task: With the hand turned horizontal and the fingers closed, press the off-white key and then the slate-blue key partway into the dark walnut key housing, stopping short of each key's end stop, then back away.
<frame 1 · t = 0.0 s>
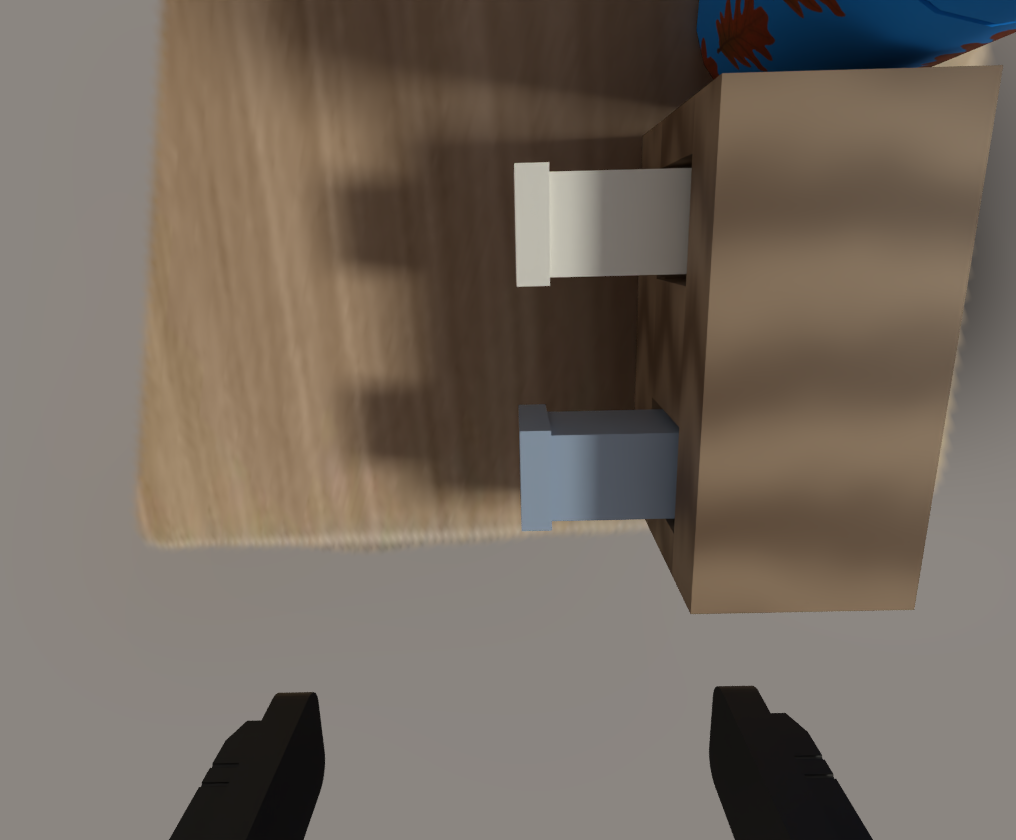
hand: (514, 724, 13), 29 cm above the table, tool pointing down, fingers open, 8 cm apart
key blue: (629, 462, 34), point 8 cm above the table, slide at 0.0 cm
key white: (635, 224, 31), point 8 cm above the table, slide at 0.0 cm
thermos: (790, 15, 36), on the table
housing: (717, 325, 40), on the table
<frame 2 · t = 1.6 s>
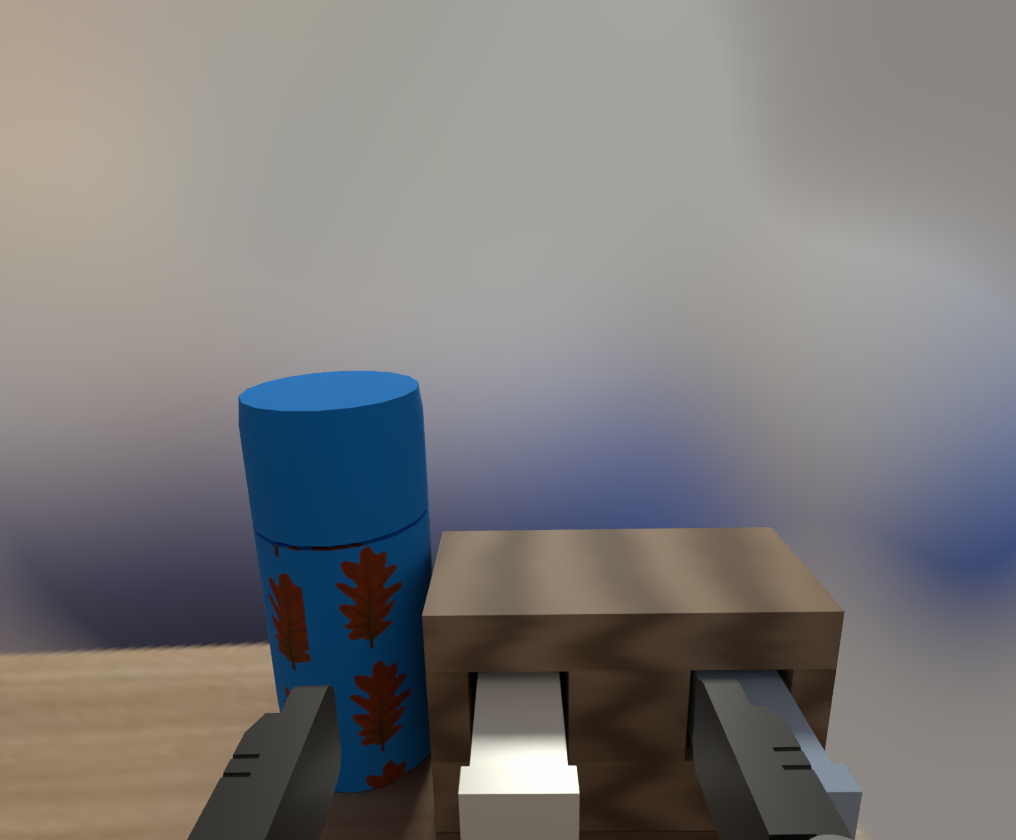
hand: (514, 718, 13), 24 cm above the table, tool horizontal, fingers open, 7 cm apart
key blue: (748, 740, 34), point 8 cm above the table, slide at 0.0 cm
key white: (519, 742, 34), point 8 cm above the table, slide at 0.0 cm
thermos: (365, 734, 46), on the table
housing: (611, 763, 42), on the table
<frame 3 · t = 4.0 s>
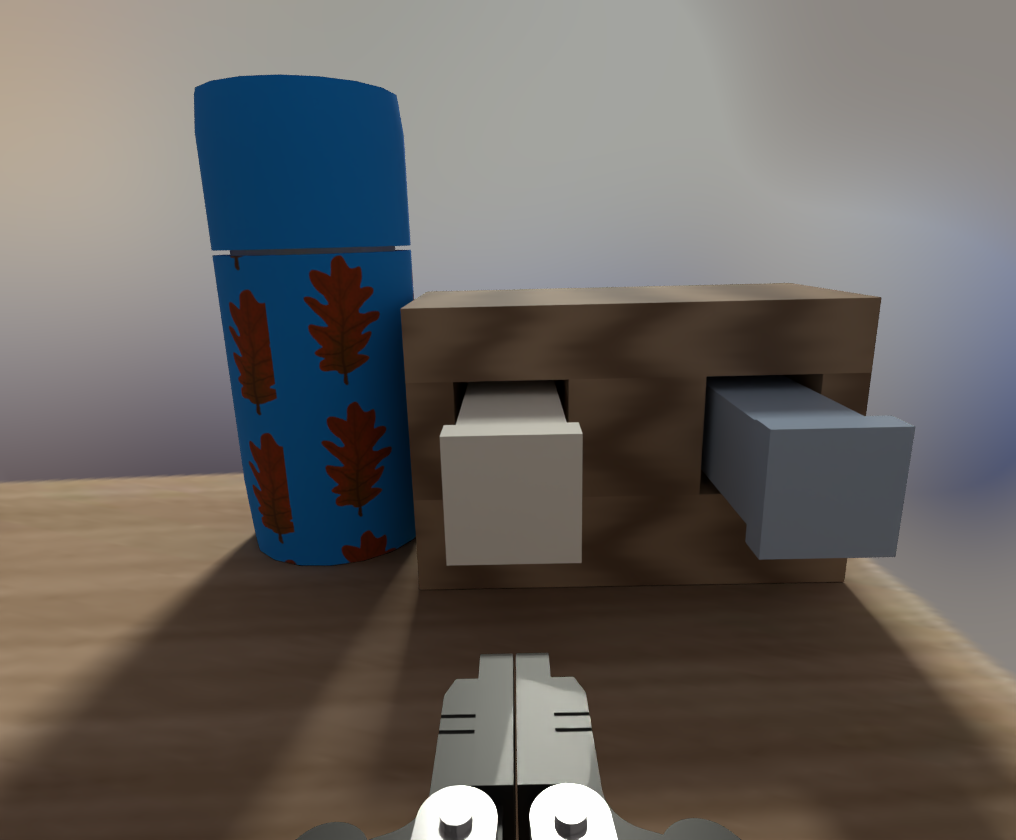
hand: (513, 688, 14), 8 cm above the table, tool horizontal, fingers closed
key blue: (773, 447, 29), point 8 cm above the table, slide at 0.0 cm
key white: (512, 452, 30), point 8 cm above the table, slide at 0.0 cm
thermos: (343, 529, 41), on the table
housing: (615, 542, 38), on the table
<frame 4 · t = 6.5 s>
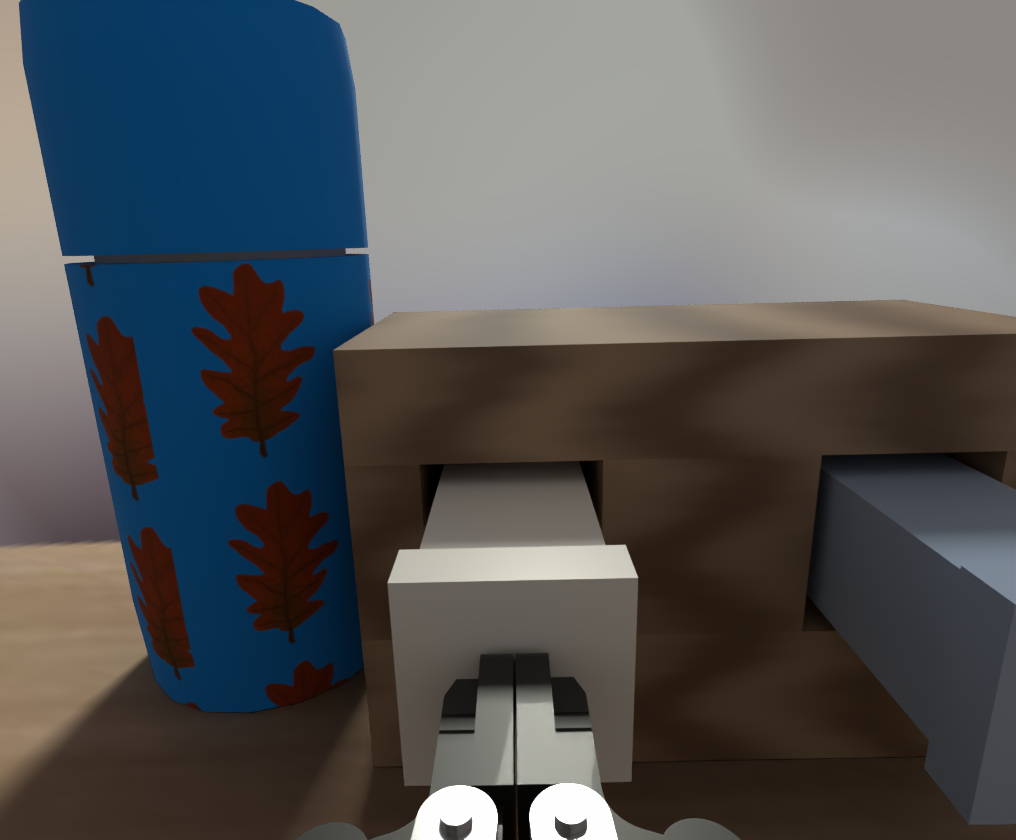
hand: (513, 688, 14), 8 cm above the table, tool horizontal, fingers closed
key blue: (936, 573, 18), point 8 cm above the table, slide at 0.0 cm
key white: (513, 560, 20), point 8 cm above the table, slide at 1.3 cm, touching gripper
thermos: (280, 637, 30), on the table
housing: (660, 667, 27), on the table
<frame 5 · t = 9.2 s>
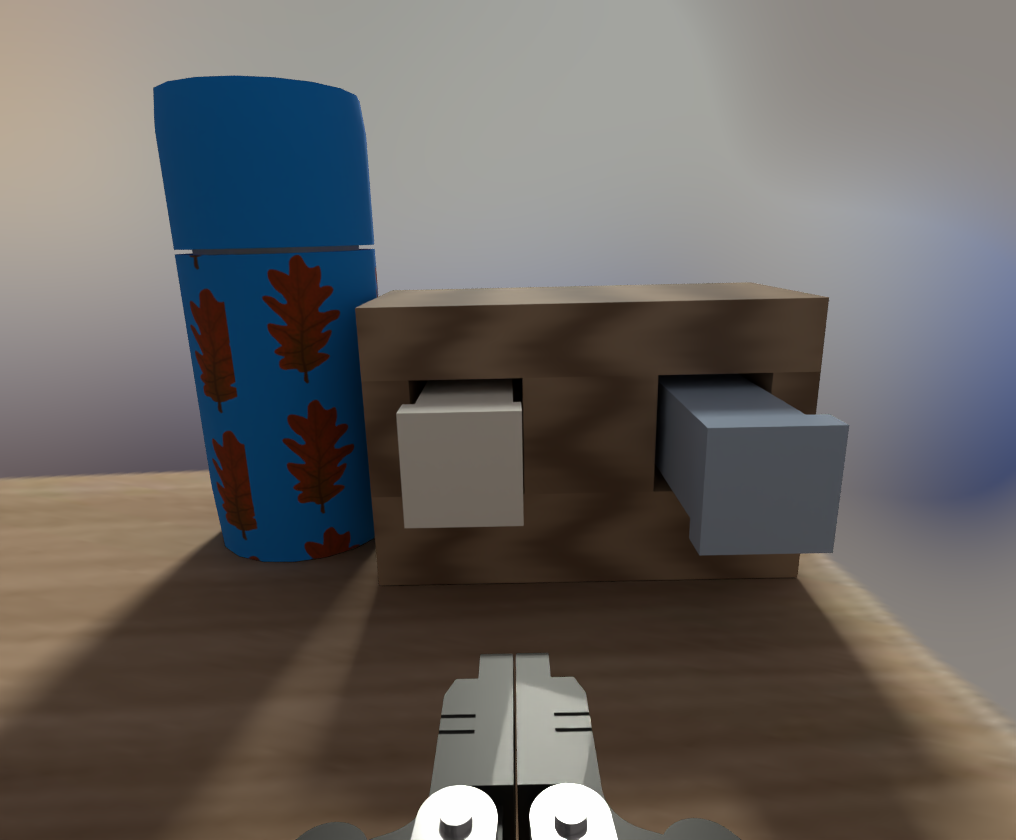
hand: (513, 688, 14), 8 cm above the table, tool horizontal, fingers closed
key blue: (723, 444, 30), point 8 cm above the table, slide at 0.0 cm
key white: (469, 431, 33), point 8 cm above the table, slide at 3.0 cm
thermos: (310, 525, 42), on the table
housing: (577, 538, 39), on the table
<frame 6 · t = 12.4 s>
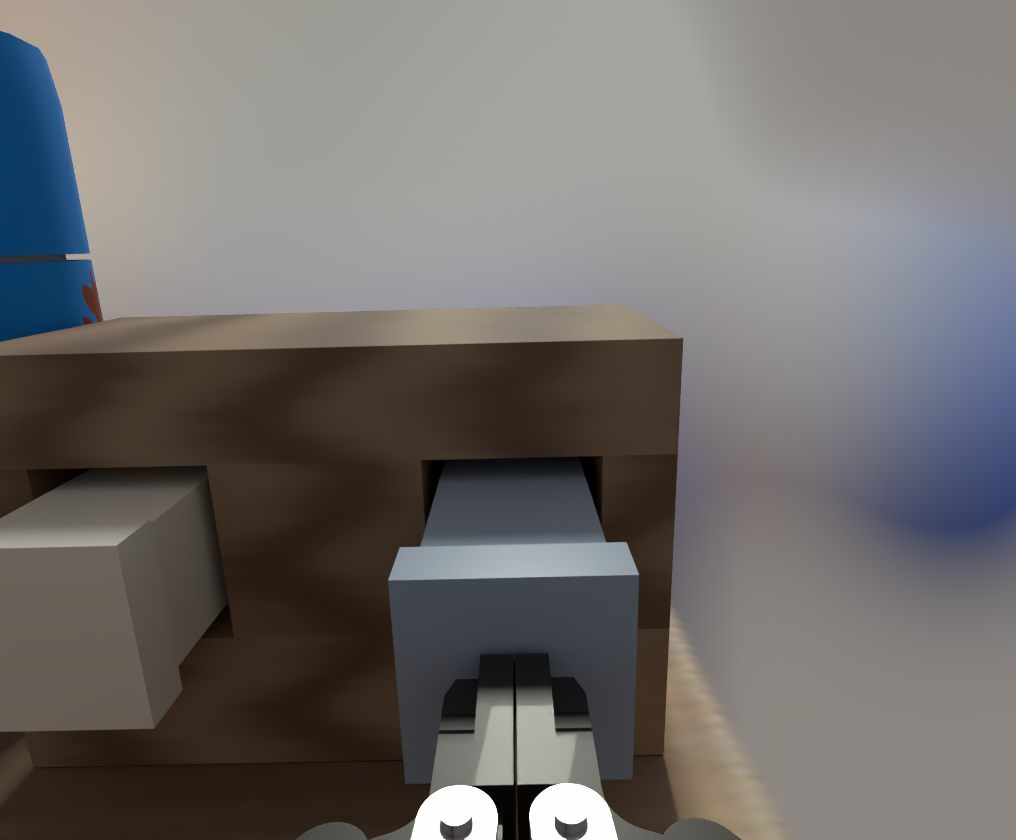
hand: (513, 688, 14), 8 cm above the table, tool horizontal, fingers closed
key blue: (514, 558, 20), point 8 cm above the table, slide at 1.1 cm, touching gripper
key white: (154, 539, 22), point 8 cm above the table, slide at 3.0 cm
thermos: (28, 639, 30), on the table
housing: (375, 669, 27), on the table
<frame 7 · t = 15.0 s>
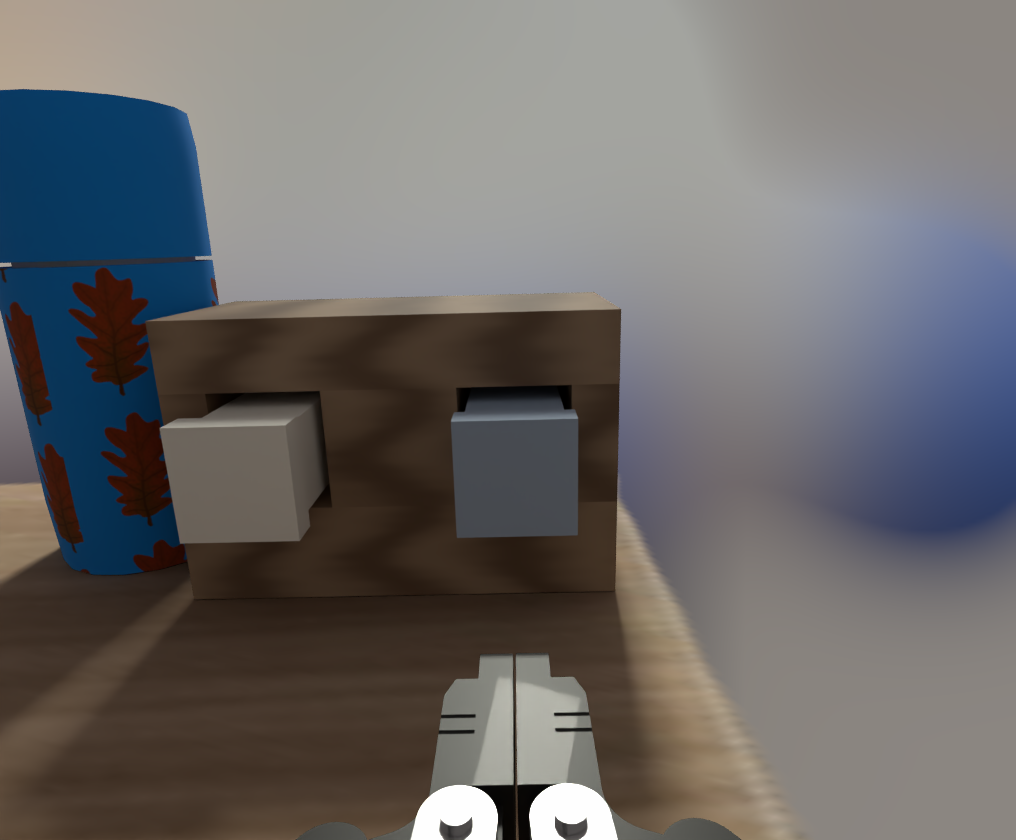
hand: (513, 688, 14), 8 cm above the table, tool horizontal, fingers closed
key blue: (515, 439, 33), point 8 cm above the table, slide at 3.0 cm
key white: (278, 444, 33), point 8 cm above the table, slide at 3.0 cm
thermos: (161, 537, 42), on the table
housing: (417, 550, 38), on the table
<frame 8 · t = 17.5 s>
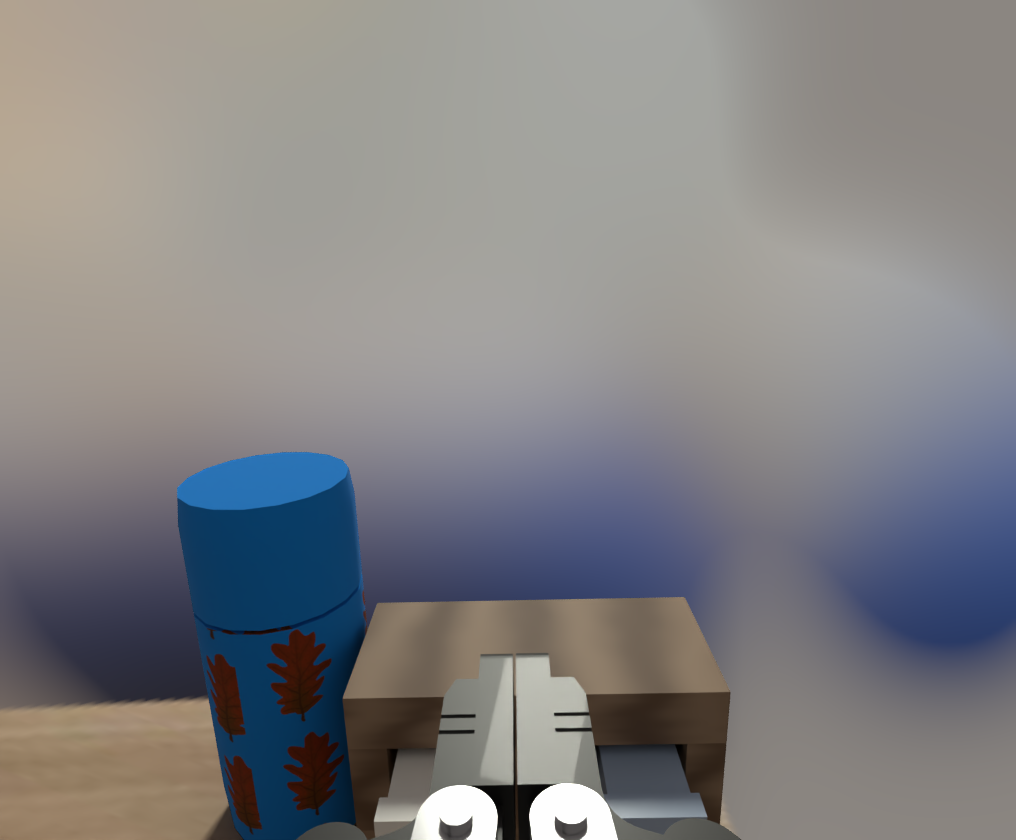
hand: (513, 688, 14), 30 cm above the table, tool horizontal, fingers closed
key blue: (634, 770, 39), point 8 cm above the table, slide at 3.0 cm
key white: (438, 773, 39), point 8 cm above the table, slide at 3.0 cm
thermos: (307, 792, 48), on the table
housing: (535, 821, 45), on the table
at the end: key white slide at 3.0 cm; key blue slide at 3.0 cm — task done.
